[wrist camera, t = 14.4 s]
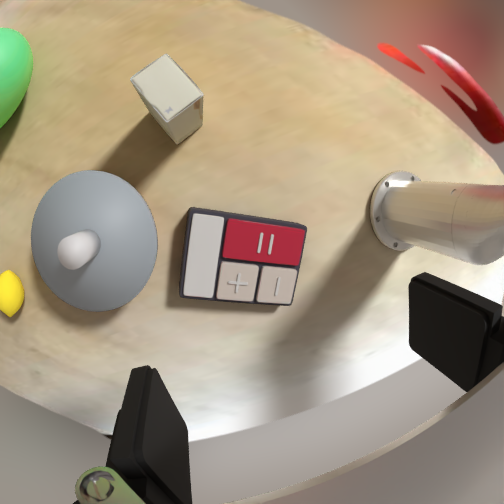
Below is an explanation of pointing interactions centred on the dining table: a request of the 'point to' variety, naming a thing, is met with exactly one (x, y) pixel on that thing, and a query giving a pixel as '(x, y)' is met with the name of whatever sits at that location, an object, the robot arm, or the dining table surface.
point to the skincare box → (170, 97)
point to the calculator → (240, 258)
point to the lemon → (10, 293)
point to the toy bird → (13, 71)
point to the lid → (94, 240)
